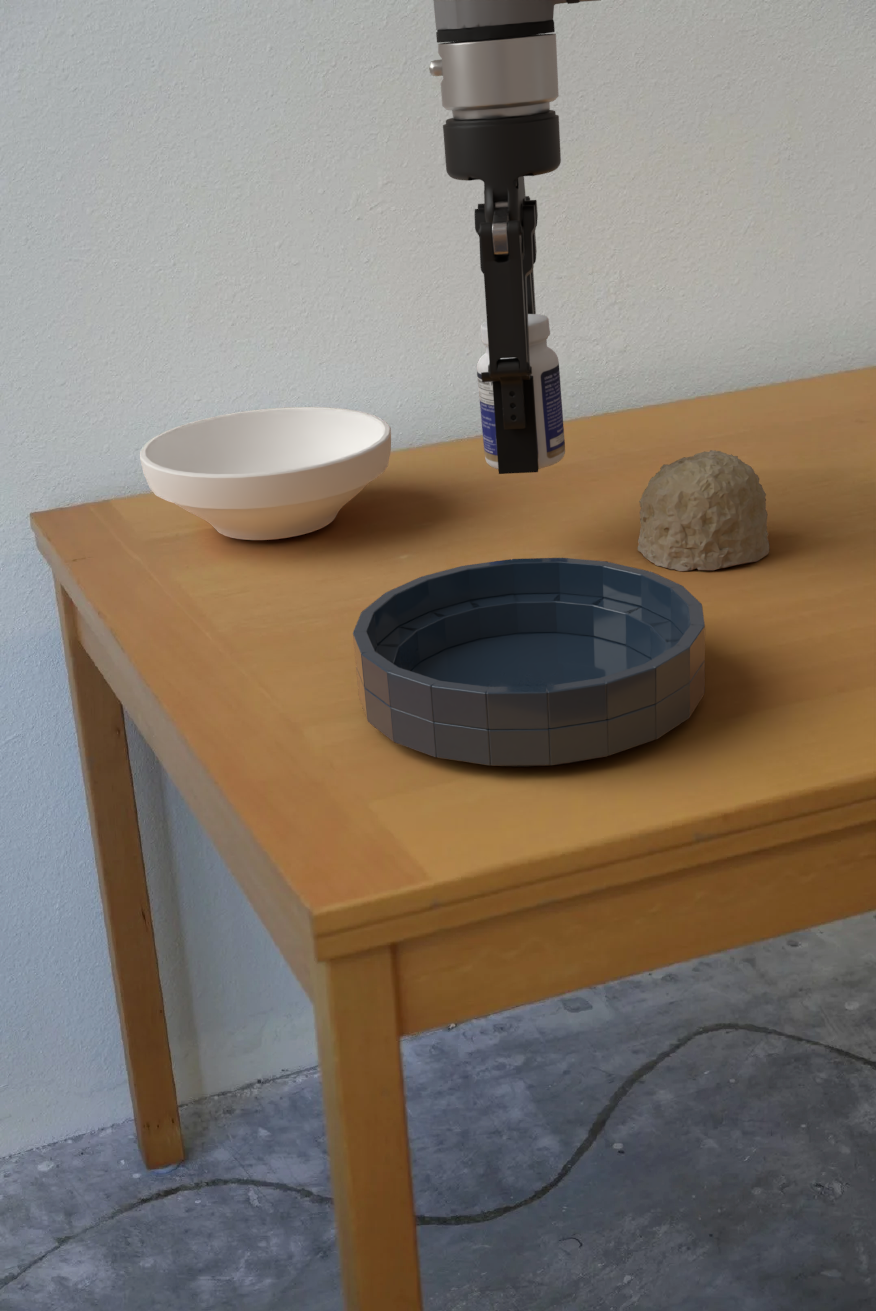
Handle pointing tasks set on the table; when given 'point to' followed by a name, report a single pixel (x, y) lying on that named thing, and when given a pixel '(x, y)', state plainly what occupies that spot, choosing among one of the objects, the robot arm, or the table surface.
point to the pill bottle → (544, 394)
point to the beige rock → (704, 514)
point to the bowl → (268, 467)
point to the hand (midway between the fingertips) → (521, 457)
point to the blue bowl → (530, 661)
